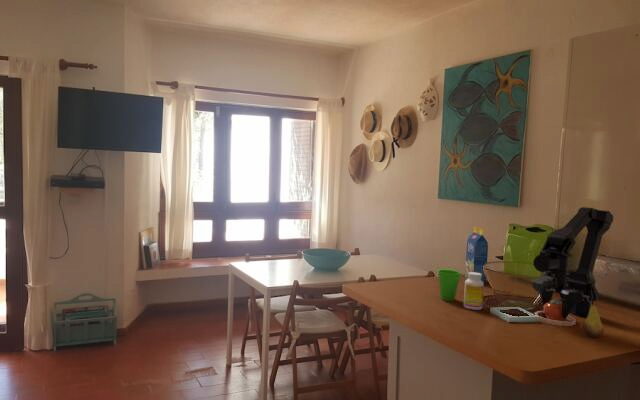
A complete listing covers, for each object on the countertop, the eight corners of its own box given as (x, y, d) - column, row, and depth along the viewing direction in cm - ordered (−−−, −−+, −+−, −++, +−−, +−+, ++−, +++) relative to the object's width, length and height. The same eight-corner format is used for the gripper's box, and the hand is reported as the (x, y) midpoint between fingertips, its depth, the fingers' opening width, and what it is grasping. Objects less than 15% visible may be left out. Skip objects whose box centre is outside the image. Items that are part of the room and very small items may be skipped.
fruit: (594, 340, 146) (598, 301, 146) (578, 334, 151) (581, 296, 151) (607, 338, 148) (610, 300, 148) (590, 332, 154) (593, 295, 153)
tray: (518, 312, 174) (518, 307, 174) (539, 322, 163) (539, 316, 162) (490, 312, 171) (490, 307, 171) (508, 322, 160) (509, 317, 160)
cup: (432, 295, 192) (434, 268, 191) (454, 296, 193) (456, 269, 192) (440, 302, 183) (442, 273, 182) (463, 302, 184) (465, 274, 183)
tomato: (561, 325, 160) (562, 301, 160) (538, 319, 166) (540, 296, 166) (569, 321, 165) (571, 298, 165) (548, 315, 171) (549, 293, 171)
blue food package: (472, 283, 219) (475, 229, 218) (464, 277, 231) (467, 226, 230) (485, 283, 219) (489, 229, 218) (477, 278, 231) (480, 226, 230)
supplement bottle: (483, 311, 173) (485, 276, 172) (464, 309, 174) (466, 274, 174) (480, 306, 179) (483, 272, 179) (462, 304, 181) (464, 270, 180)
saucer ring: (557, 314, 173) (558, 310, 173) (583, 325, 161) (583, 321, 161) (526, 314, 171) (527, 311, 171) (550, 326, 158) (551, 322, 158)
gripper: (520, 264, 172) (517, 307, 173) (556, 275, 154) (552, 323, 155) (547, 264, 175) (544, 306, 175) (586, 275, 156) (582, 322, 157)
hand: (554, 314), depth 166 cm, fingers open, 9 cm apart
